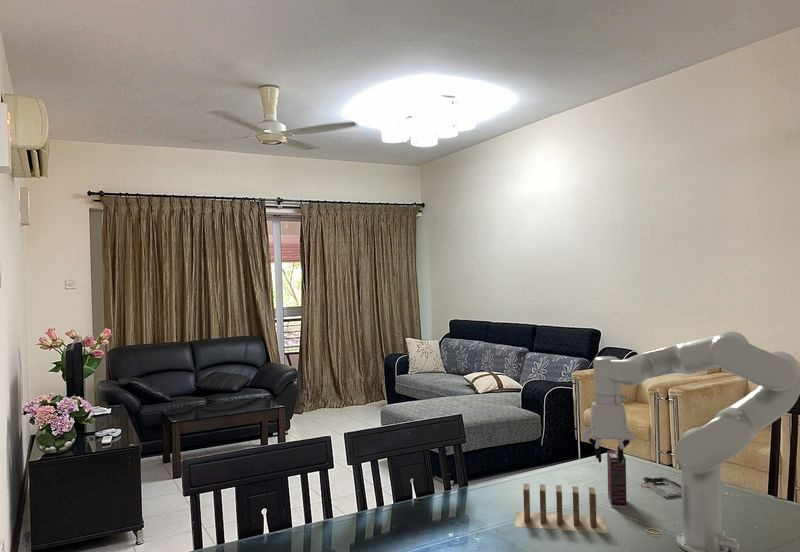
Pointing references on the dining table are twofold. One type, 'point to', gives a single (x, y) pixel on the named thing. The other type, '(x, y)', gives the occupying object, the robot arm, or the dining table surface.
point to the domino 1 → (526, 503)
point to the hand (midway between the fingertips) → (609, 460)
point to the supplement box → (616, 480)
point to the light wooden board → (567, 523)
